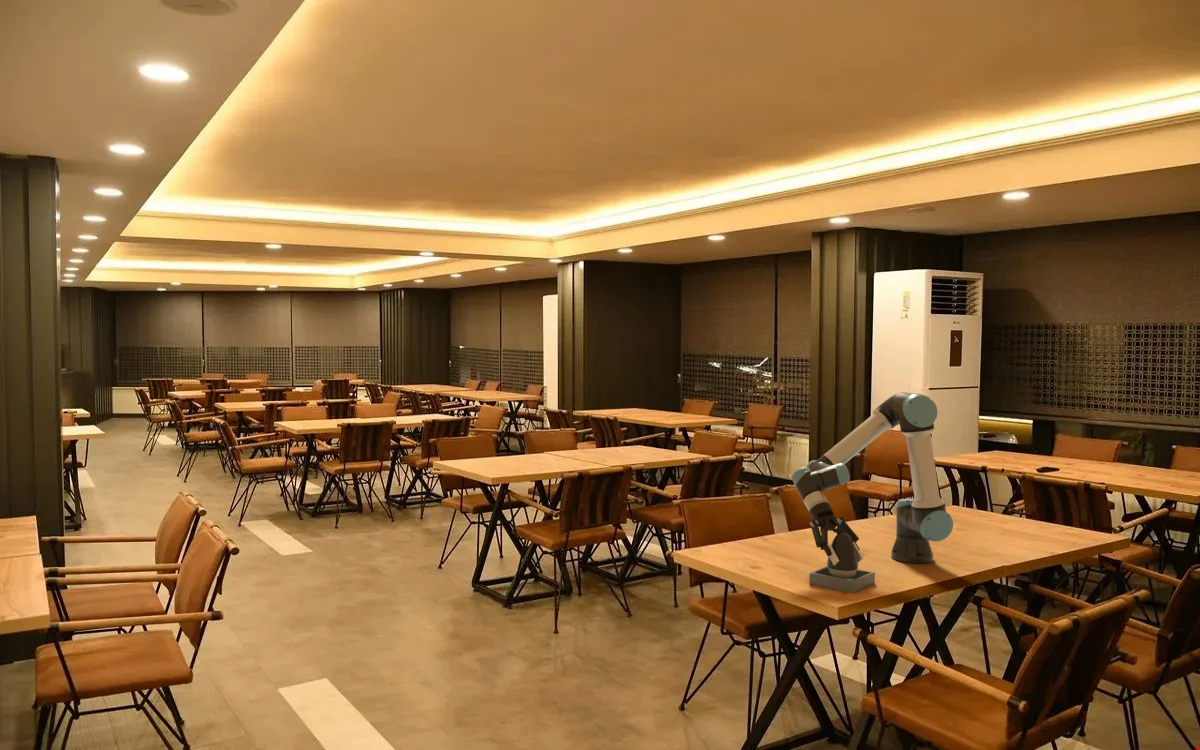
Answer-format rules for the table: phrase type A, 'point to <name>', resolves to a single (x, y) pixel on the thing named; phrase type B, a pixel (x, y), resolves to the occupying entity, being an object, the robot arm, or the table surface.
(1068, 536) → the table surface
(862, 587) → the grey tray
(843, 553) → the dark grey oval piece
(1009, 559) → the table surface
